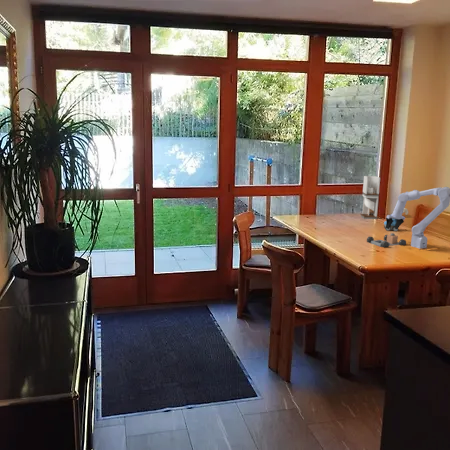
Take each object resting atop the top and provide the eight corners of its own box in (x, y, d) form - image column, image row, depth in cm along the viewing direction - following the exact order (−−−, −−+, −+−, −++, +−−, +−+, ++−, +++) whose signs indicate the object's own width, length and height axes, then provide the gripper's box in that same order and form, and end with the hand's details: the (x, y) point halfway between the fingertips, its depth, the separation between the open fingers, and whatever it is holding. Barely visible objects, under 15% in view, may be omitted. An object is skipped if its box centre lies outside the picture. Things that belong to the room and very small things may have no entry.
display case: (360, 216, 422) (364, 175, 415) (373, 216, 422) (376, 176, 414) (363, 218, 411) (367, 177, 403) (376, 219, 410) (380, 177, 403)
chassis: (406, 246, 322) (406, 239, 321) (382, 249, 314) (383, 242, 313) (388, 240, 336) (389, 234, 335) (366, 243, 327) (366, 236, 326)
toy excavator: (407, 232, 364) (409, 209, 360) (384, 230, 367) (386, 208, 363) (405, 229, 372) (407, 207, 368) (382, 228, 375) (384, 206, 371)
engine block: (397, 243, 325) (398, 234, 324) (392, 243, 323) (393, 234, 322) (391, 241, 330) (392, 232, 329) (386, 242, 328) (387, 233, 327)
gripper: (402, 208, 329) (395, 226, 333) (386, 207, 322) (379, 225, 327) (409, 212, 323) (402, 231, 327) (393, 211, 316) (386, 230, 321)
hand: (391, 228), depth 327 cm, fingers open, 7 cm apart
